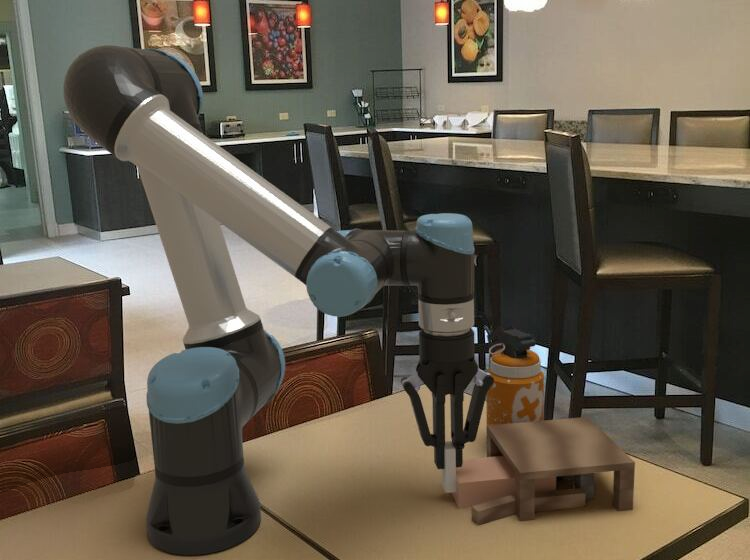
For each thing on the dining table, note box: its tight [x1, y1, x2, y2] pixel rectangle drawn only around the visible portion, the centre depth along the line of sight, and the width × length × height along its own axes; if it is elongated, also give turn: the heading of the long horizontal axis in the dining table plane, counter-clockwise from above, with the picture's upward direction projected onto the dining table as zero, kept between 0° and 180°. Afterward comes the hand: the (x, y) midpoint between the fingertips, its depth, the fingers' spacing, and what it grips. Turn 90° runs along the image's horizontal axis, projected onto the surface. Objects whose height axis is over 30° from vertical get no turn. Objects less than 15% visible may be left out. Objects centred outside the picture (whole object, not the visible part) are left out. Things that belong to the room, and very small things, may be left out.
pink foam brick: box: [450, 456, 557, 509], centre depth 114 cm, size 14×7×4 cm, turn 98°
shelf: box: [471, 416, 636, 526], centre depth 114 cm, size 22×16×7 cm
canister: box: [485, 324, 545, 445], centre depth 127 cm, size 9×11×20 cm
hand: (448, 487), depth 113 cm, fingers closed
